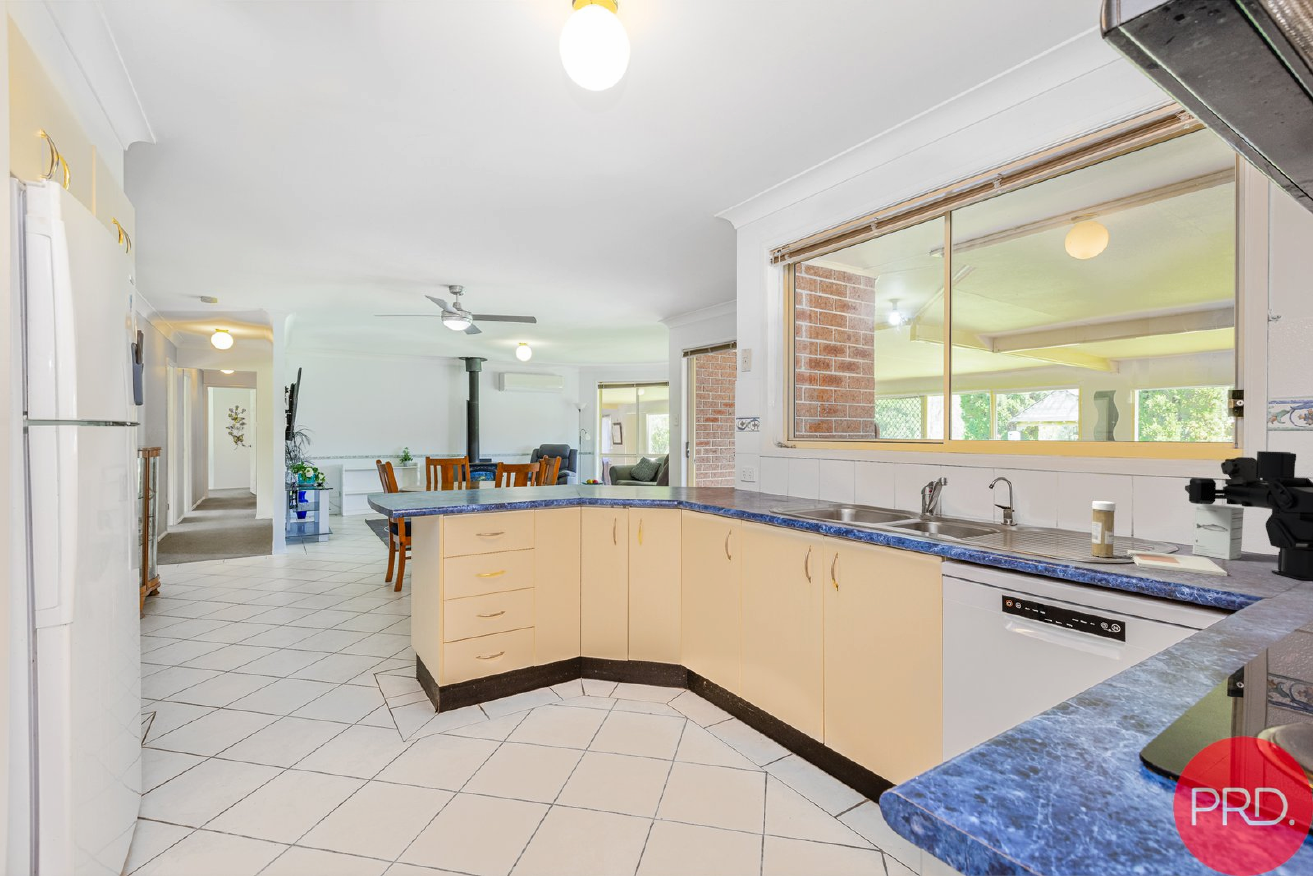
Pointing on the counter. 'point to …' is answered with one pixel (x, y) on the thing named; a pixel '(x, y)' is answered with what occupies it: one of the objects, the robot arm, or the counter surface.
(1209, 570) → the mat
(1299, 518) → the robot arm
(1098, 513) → the sprinkles bottle
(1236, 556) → the supplement box
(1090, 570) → the counter surface
